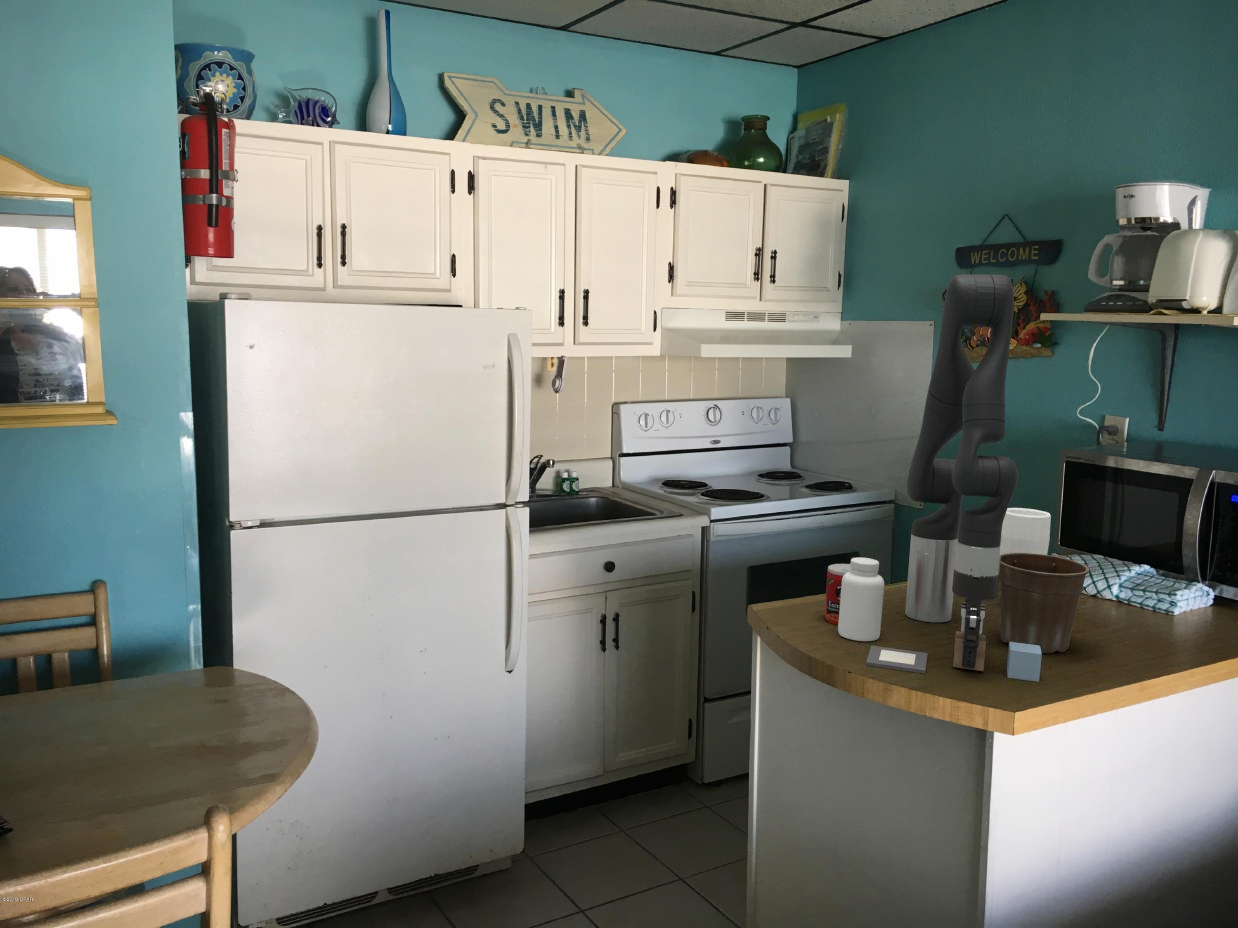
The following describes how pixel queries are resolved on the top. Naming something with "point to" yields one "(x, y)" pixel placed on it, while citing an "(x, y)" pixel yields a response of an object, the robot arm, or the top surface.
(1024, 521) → the cup
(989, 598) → the robot arm
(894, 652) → the mat
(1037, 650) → the blue block
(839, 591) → the canned food
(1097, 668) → the top surface
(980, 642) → the walnut block
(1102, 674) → the top surface
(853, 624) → the pill bottle
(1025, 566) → the plant pot
